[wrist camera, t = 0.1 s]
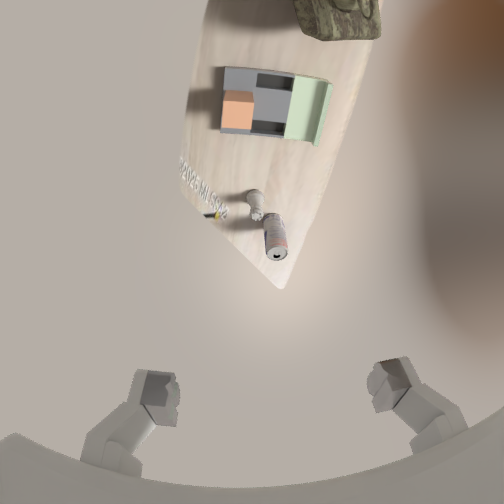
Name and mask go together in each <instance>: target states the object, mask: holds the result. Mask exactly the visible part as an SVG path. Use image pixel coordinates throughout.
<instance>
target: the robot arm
mask: <svg viewBox="0 0 504 504" xmlns="http://www.w3.org/2000/svg"><path fill="white" fill-rule="evenodd" d="M373 369H374V370H373V371H372V372H371V373H370V374H369V376H368V378H367V388H368V391H369V393H370V394H371V395H372V396H374V397H373V400H372V403H373V406H374V408H375V411H376V413H379V412H383V411H388V410H391V409H393V411H394V412H395V413H396V414H397V415H398V416H399V417H400V418H401V419H402V420H403V421H404V422H405V423H406V424H408V426H410V427H411V428H412V429H413V430H414V431H415V432H416V433H417V434H418V435H417V436H415V437H414V438H413V439H412V440H411V442H410V446H411V448H412V452H413V455H412V456H409V457H407V458H404V459H401V460H398V461H395V462H392V463H389V464H387V465H383V466H380V467H377V468H374V469H370V470H366V471H363V472H359V473H355V474H351V475H347V476H342V477H338V478H333V479H328V480H322V481H316V482H310V483H303V484H295V485H285V486H274V487H257V488H220V487H202V486H190V485H181V484H173V483H166V482H159V481H154V480H149V479H143V478H141V472H142V463H141V462H140V461H139V460H138V459H137V458H136V457H134V456H133V455H132V454H133V453H134V451H135V450H136V449H137V448H138V447H139V446H140V445H141V443H142V442H143V441H144V440H145V439H146V437H148V435H149V434H150V433H151V432H152V431H153V429H154V428H155V427H156V425H161V426H173V427H176V424H177V416H178V412H177V410H176V407H177V406H178V405H179V402H180V389H179V385H178V383H177V382H175V380H176V376H175V374H174V373H172V372H160V371H151V370H143V369H137V370H136V372H135V374H134V378H133V381H132V385H131V389H130V392H129V396H128V399H127V402H123V403H122V404H120V405H119V406H118V407H117V408H116V409H115V410H114V411H112V412H111V413H110V414H109V415H108V416H107V417H106V418H105V419H103V420H102V421H101V422H100V423H99V424H98V425H96V426H95V427H94V428H93V429H92V430H91V431H89V432H88V433H87V436H86V439H85V443H84V446H83V450H82V454H81V458H80V461H79V460H76V459H73V458H71V457H68V456H66V455H63V454H61V453H58V452H56V451H54V450H51V449H49V448H47V447H45V446H43V445H40V444H38V443H36V442H34V441H32V440H30V439H28V438H26V437H24V436H23V435H21V434H18V433H13V434H11V435H9V436H7V437H5V438H4V439H2V440H1V441H0V504H504V407H502V408H501V409H499V410H498V411H496V412H495V413H493V414H492V415H490V416H489V417H487V418H485V419H484V420H482V421H481V422H479V423H477V424H476V425H474V426H472V427H470V428H468V426H467V424H466V421H465V419H464V417H463V415H462V413H461V411H460V408H459V407H458V406H457V405H455V404H454V403H452V402H451V401H449V400H448V399H446V398H445V397H444V396H442V395H441V394H439V393H438V392H436V391H435V390H433V389H432V388H430V387H429V386H428V385H426V384H422V383H421V381H420V379H419V377H418V375H417V373H416V371H415V369H414V367H413V365H412V363H411V361H410V360H409V358H408V357H407V356H405V357H400V358H394V359H389V360H385V361H380V362H377V363H375V364H374V366H373Z"/></svg>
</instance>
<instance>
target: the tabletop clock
mask: <svg viewBox="0 0 504 504" xmlns="http://www.w3.org/2000/svg"><path fill="white" fill-rule="evenodd" d="M293 3H294V6H295V10H296V13H297V17H298V21H299V24H300V27H301V30H302V32H303V33H304V34H306V35H308V36H311V37H314V38H316V39H319V40H321V41H337V40H373V39H377V38H379V37H380V36H381V19H380V12H379V6H378V0H293Z"/></svg>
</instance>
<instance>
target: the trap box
mask: <svg viewBox="0 0 504 504" xmlns="http://www.w3.org/2000/svg"><path fill="white" fill-rule="evenodd" d="M332 89H333V84H332V83H330V82H329V81H328V80H325V79H321V78H316V77H311V76H305V75H300V74H294V73H288V72H281V71H274V70H265V69H256V68H245V67H229V66H226V67H225V75H224V87H223V99H222V113H221V128H220V133H230V134H245V135H258V136H268V137H277V138H286V139H294V140H301V141H308V142H312V144H313V146H317V147H318V145H319V141H320V137H321V133H322V129H323V125H324V121H325V117H326V113H327V109H328V105H329V101H330V97H331V93H332ZM226 90H237V91H250V92H253V98H254V109H253V117H252V125H251V129H238V128H222V115H223V101H224V96H225V92H226Z"/></svg>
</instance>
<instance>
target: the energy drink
mask: <svg viewBox="0 0 504 504" xmlns="http://www.w3.org/2000/svg"><path fill="white" fill-rule="evenodd" d="M263 227H264V237H265V248H266V254H267V256H268V258H269V259H271V260H274V261H279V260H282V259H284V258H285V257H286V256H287V254H288V246H287V240H286V235H285V229H284V223H283V218H282V217H281V216H280V215H278V214H269V215H267V216H266V217H265V218H264V220H263Z"/></svg>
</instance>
